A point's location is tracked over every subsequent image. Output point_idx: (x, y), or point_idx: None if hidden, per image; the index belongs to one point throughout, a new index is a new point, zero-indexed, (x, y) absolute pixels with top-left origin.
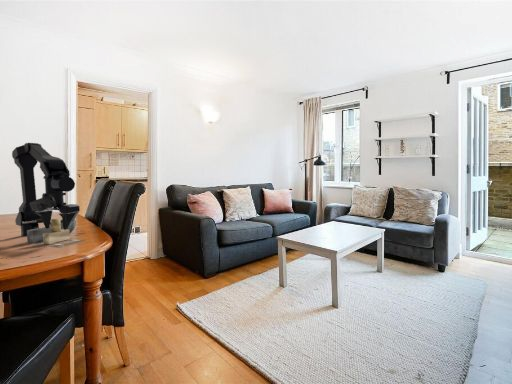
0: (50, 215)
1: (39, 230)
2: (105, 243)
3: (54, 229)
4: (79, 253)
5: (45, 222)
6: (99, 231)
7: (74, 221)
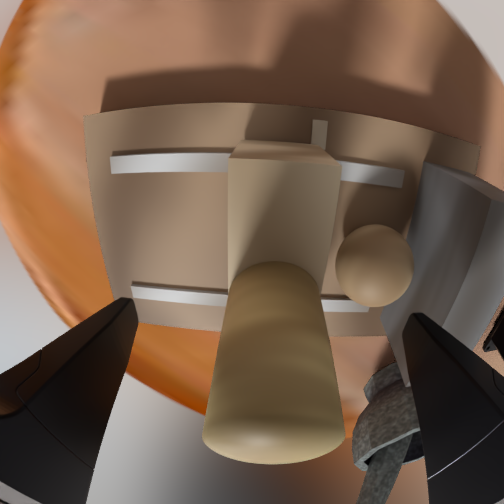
0: (434, 474)
1: (462, 269)
2: (63, 314)
3: (254, 286)
4: (4, 138)
5: (447, 363)
6: None
7: (355, 464)
